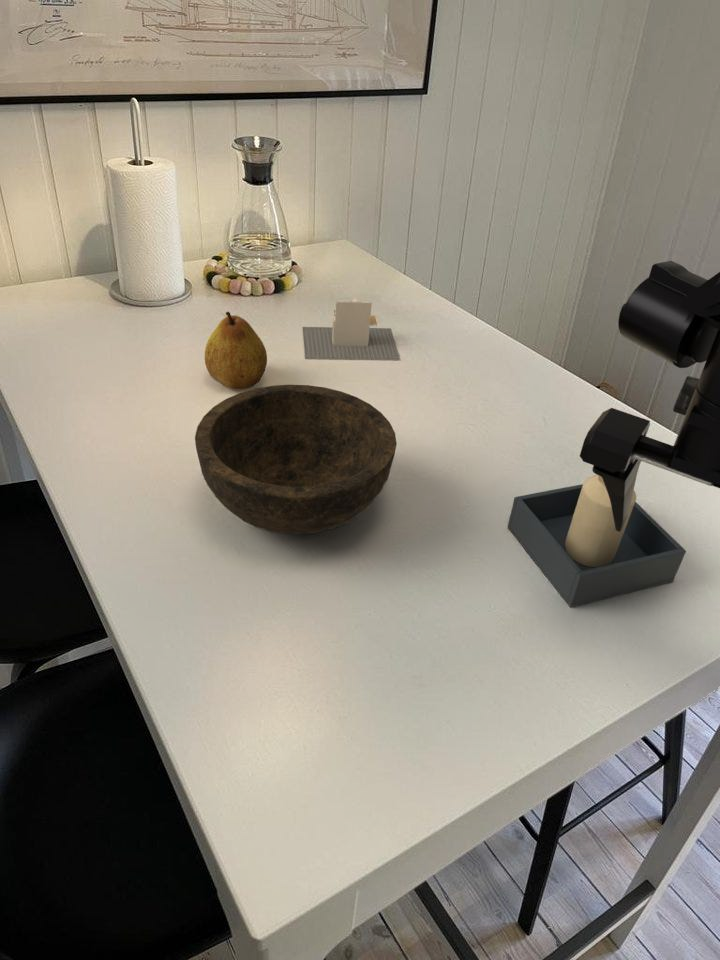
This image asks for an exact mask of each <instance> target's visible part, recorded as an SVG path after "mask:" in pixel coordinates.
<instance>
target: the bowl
mask: <svg viewBox="0 0 720 960" xmlns="http://www.w3.org/2000/svg"><path fill="white" fill-rule="evenodd" d="M194 442H195V449H196V453H197V459H198V462H199V467H200V471H201V474H202V475H201V476H203V479H204V482H205V483H206V485H207V486H208V488H209V490H210V491H211V492H212V494H213V495H214V497H215V498H216V499H217V500H218V501H219V502H220V504H221V505H222V506H224V508H226V510H228V511H229V512H230V513H232V514H233V515H234V516H236V517H237V518H238V519H240V520H241V521H243V522H245V523H247V524H249V525H251V526H253V527H256V528H259V529H262V530H265V531H268V532H273V533H279V534H284V535H285V534H286V535H287V534H289V535H305V534H314V533H320V532H324V531H328V530H333V529H335V528H338V527H339V526H342V525H344V524H346V523H348V522H349V521H351V520H352V519H354V518H355V517H357V516H358V515H359V514H361V513H362V512H364V511H365V510H366V509H367V508H368V507H369V506H370V505H371V504H372V503H373V502H374V501H375V499H376V498H377V497H378V496H379V494H380V493H381V492H382V491H383V489H384V487H385V485H386V483H387V482H388V479H389V476H390V472H391V468H392V466H393V461H394V458H395V454H396V450H397V437H396V432H395V430H394V428H393V426H392V424H391V422H390V421H389V420H388V419H387V418H386V417H385V415H384V414H383V413H382V412H381V411H380V410H379V409H377V408H376V407H374V406H373V405H372V404H370V403H368V402H367V401H365V400H363V399H361V398H359V397H357V396H355V395H351V394H349V393H346V392H344V391H342V390H337V389H333V388H328V387H325V386H317V385H316V386H315V385H310V384H277V385H269V386H262V387H255V388H253V389H249V390H248V389H247V390H245V391H242V392H239V393H236V394H234V395H232V396H229V397H227V398H225V399H223V400H222V401H221V402H219V403H217V404H216V405H214V406H212V408H211V409H210V410H208V411H207V412H206V413H205V414H204V415H203V417H202V418H201V420H200V421H199V423H198V425H197V426H196V431H195V435H194Z"/></svg>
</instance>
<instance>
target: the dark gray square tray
mask: <svg viewBox="0 0 720 960" xmlns="http://www.w3.org/2000/svg"><path fill="white" fill-rule="evenodd" d="M582 486H583V483H581V484H576V485H570V486H566V487H565V486H564V487H559V488H555V489H549V490H545V491H539V492H534V493H529V494H523V495H518V496H514V499H513V502H512V507H511V510H510V515H509V519H508V523H507V529H508V530H509V532H510V533H511V534H512V536H513V537H514V538H515V539H516V540H517V541H518V543H519V544H520V546H521V547H522V549H524V550H525V552H526V553H527V554H528V556H529V557H530V559H531V560H532V561H533V563H535V565H536V566H537V568H538V569H539V570H540V571H541V572H542V574H543V575H544V577H546V579H547V580H548V581H549V582H550V584H551V585H552V587H553V588H554V589H555V590H556V591H557V593H558V594H559V595H560V597H561V598H562V599H563V601H564V602H565V603H566V605H567V606H568V607H569V608H574V607H578V606H582V605H586V604H590V603H594V602H598V601H602V600H606V599H611V598H614V597H618V596H623V595H626V594H629V593H634V592H639V591H642V590H645V589H646V590H647V589H651V588H654V587H659V586H663V585H666V584H670V583H673V582H674V580H675V577H676V575H677V573H678V571H679V569H680V566H681V564H682V562H683V560H684V558H685V556H686V553H687V551H686V550H685V548H684V547H682V546H681V544H680V543H679V542H677V540H676V539H674V538H673V537H672V536H671V535H670V534H669V533H668V532H667V531H666V530H665V529H664V528H663V527H662V525H660V524H659V523H658V522H657V521H656V520H655V519H654V518H653V517H652V516H651V515H650V514H649V513H648V512H647V511H646V510H645V509H644V508H643V507H642V506H641V505H640V504H639V503H637V501H635V504H634V506H633V509H632V512H631V515H630V517H629V520H628V523H627V525H626V528H625V531H624V534H623V536H622V539H621V542H620V544H619V547H618V550H617V553H616V555H615V557H614V559H613V561H612V562H611V563H610V564H609V565H607V566H603V567H589V566H585V565H582V564H580V563H578V562H576V561H575V560H573V559H572V558H571V557H570V556H569V555H568V553H567V552H566V549H565V541H566V538H567V534H568V531H569V528H570V525H571V521H572V518H573V515H574V512H575V509H576V505H577V502H578V499H579V496H580V493H581V489H582Z"/></svg>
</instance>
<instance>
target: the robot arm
mask: <svg viewBox="0 0 720 960" xmlns="http://www.w3.org/2000/svg"><path fill="white" fill-rule="evenodd" d="M651 265H652V266H651V269H650V271H649V274H648V277H647V278H645V279H643V281H642V282H640V283H639V285H638V286H636V288H635V289H634V290H633V291H632V292H631V294H630V295H629V296H628V299H627V301H626V302H625V303H623V304H622V306H621V308H620V311H619V314H618V323H617V324H618V331H619V333H620V335H621V336H622V337H623V338H625V339H626V340H628V341H630V342H632V343H633V344H636V345H637V346H639V347H641V348H642V349H644V350H646V351H647V352H650V353H652V354H654V355H655V356H657V357H658V358H660V359H662V360H664V361H666V362H668V363H669V364H671V365H672V366H674V367H676V368H679V369H686V368H690V367H691V366H693V365H695V364H697V363H704V365H703V369H702V370H701V373H700V376H699V378H698V377H695V376H690V375H686V377H685V380H684V382H683V384H682V386H681V389H680V391H679V393H678V395H677V397H676V400H675V403H674V405H673V408H672V412H673V413H675V414H679V415H683V416H684V418H683V420H682V423H681V425H680V428H679V430H678V433H677V435H676V437H675V441H674V444H673V445H671V444H669V443H666V442H663V441H661V440H658V439H654V438H653V437H649V436H647V434H648V431H649V428H650V426H651V420H649V419H646V418H643V417H640V416H637V415H634V414H631V413H628V412H625V411H622V410H619V409H617V408H614V407H611V408H610V407H609V408H608V409H606V410H604V411H603V412H602V413H601V414H600V415H599V417H598V418H597V419H596V420H595V422H594V423H593V424H592V426H591V427H590V429H588V431H587V433H586V436H585V437H584V440H583V444H582V447H581V450H580V453H579V458H580V459H581V460H582V462H583V463H586V464H588V465H591V466H592V470H591V471H592V472H593V474H595V475H599V476H601V477H602V479H603V482H604V484H605V487H606V490H607V493H608V495H609V498H610V502H611V507H612V513H613V518H614V523H615V529H616V531H618V532H620V531H621V530H622V528H623V526H624V523H625V521H626V518H627V516H628V513H629V509H630V504H631V499H632V495H633V490H634V491H635V486H636V481H637V475H638V472H639V468H640V466H641V463H642V462H643V463H646V464H649V465H651V466H655V467H657V468H659V469H663V470H665V471H668V472H671V473H673V474H676V475H679V476H681V477H684V478H687V479H689V480H692V481H695V482H698V483H700V484H704V485H707V486H709V487H715V488H718V489H720V271H719V272H717V273H716V274H714V275H713V276H712V277H710V278H708V279H706V278H705V277H703V276H700V275H699V274H698V275H697V274H696V273H693V272H692V271H689V270H688V269H687V268H686V267H684V266H683V265H681V264H680V263H677V262H675V261H673V260H666V261H663V262H657V263H654V264H651Z"/></svg>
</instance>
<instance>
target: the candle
mask: <svg viewBox="0 0 720 960" xmlns="http://www.w3.org/2000/svg"><path fill="white" fill-rule="evenodd" d="M582 484H583V486H582V489H581V493H580V496H579V499H578V502H577V505H576V509H575V512H574V515H573V518H572V521H571V525H570V528H569V531H568V534H567V538H566V541H565V549H566V552H567V553H568V555H569V556H570V557H571V558H572V559H573V560H575V561H576V562H578V563H580V564H582V565H585V566H589V567H603V566H607V565H609V564H610V563H611V562H612V561H613V559H614V557H615V555H616V553H617V550H618V547H619V544H620V542H621V539H622V536H623V534H624V531H625V528H626V525H627V523H628V520H629V517H630V515H631V512H632V509H633V506H634V504H635V502H637V492H636V491H635V489H634V490H633V495H632V499H631V504H630V509H629V513H628V516H627V518H626V521H625V523H624V526H623V528H622V530H621V531H620V532H618V531H616V529H615V523H614V518H613V513H612V507H611V502H610V498H609V495H608V493H607V490H606V487H605V484H604V482H603V479H602V477H601V476H599V475H597V474H595V475H592V476H589V477H588V478H586V479H585V480H584V481H583V483H582Z"/></svg>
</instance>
